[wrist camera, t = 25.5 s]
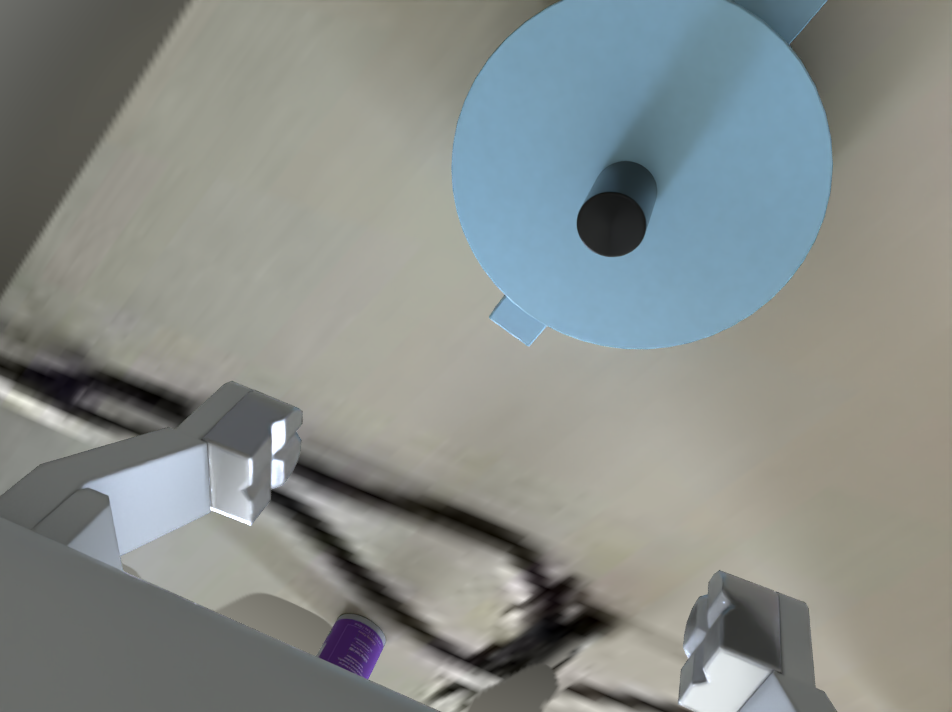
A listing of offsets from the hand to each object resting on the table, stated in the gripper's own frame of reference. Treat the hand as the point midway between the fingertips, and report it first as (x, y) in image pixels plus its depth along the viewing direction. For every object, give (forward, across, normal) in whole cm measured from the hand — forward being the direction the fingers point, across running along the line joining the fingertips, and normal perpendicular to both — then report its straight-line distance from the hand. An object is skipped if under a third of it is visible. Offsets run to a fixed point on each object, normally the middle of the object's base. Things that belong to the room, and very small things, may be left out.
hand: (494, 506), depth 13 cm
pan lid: (+18, 0, 0) cm, 18 cm away
